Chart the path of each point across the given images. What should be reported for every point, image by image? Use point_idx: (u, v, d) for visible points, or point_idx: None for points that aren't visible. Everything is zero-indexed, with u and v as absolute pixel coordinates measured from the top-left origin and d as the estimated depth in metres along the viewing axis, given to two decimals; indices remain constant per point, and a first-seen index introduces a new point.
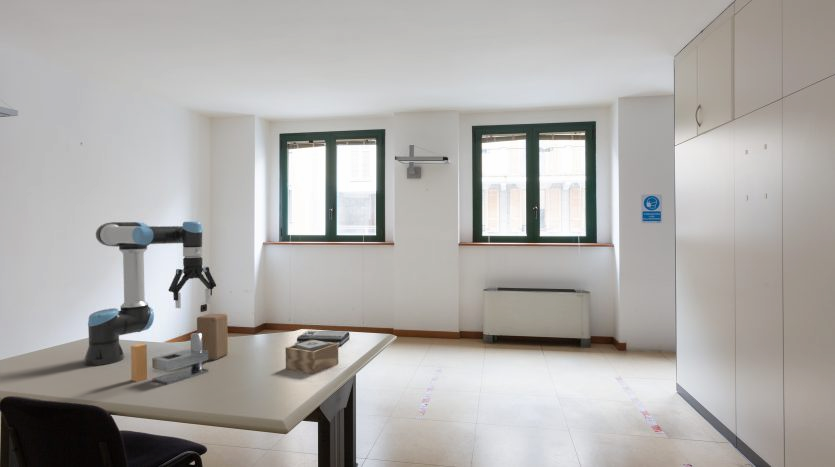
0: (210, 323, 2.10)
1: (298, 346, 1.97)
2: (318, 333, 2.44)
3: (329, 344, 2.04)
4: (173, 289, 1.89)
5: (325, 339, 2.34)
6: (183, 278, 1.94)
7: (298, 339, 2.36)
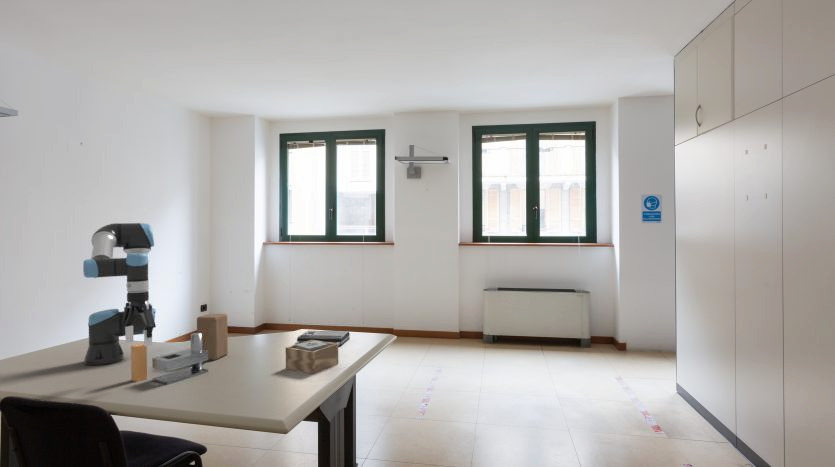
0: (210, 323, 2.10)
1: (298, 346, 1.97)
2: (318, 333, 2.44)
3: (329, 344, 2.04)
4: (122, 322, 1.87)
5: (325, 339, 2.34)
6: None
7: (298, 339, 2.36)
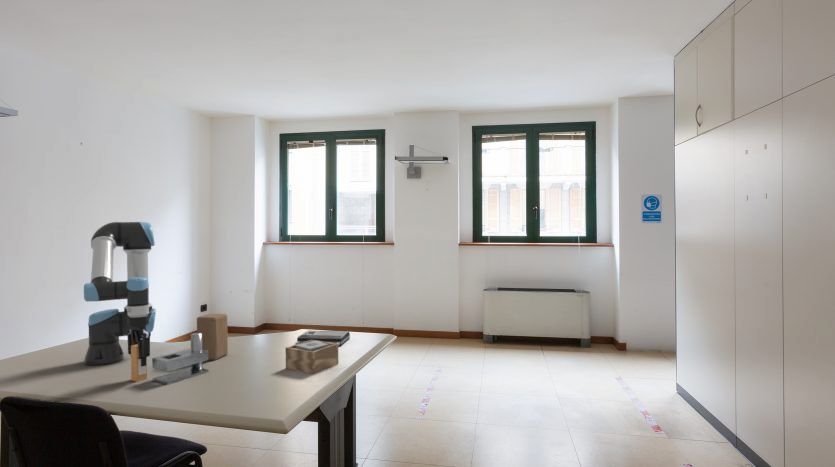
0: (210, 323, 2.10)
1: (298, 347, 1.96)
2: (318, 333, 2.45)
3: (329, 344, 2.04)
4: (128, 351, 1.85)
5: (325, 339, 2.35)
6: None
7: (298, 339, 2.36)
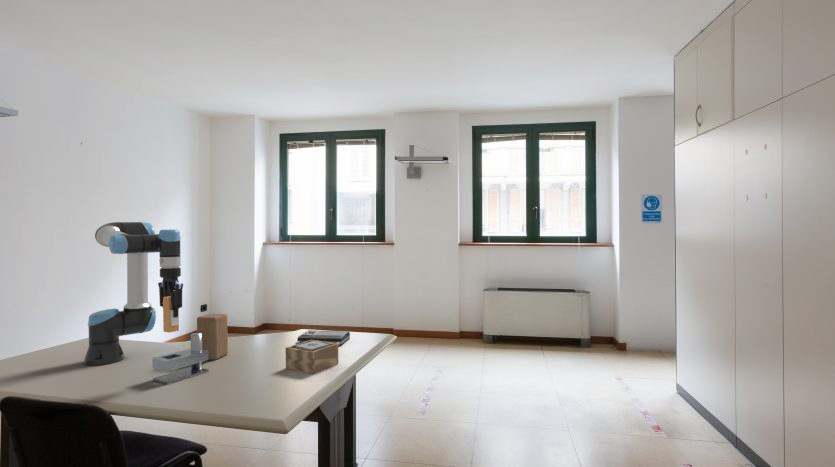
0: (210, 323, 2.10)
1: (298, 347, 1.95)
2: (319, 333, 2.45)
3: (329, 344, 2.04)
4: (160, 303, 1.86)
5: (325, 339, 2.35)
6: None
7: (299, 339, 2.37)
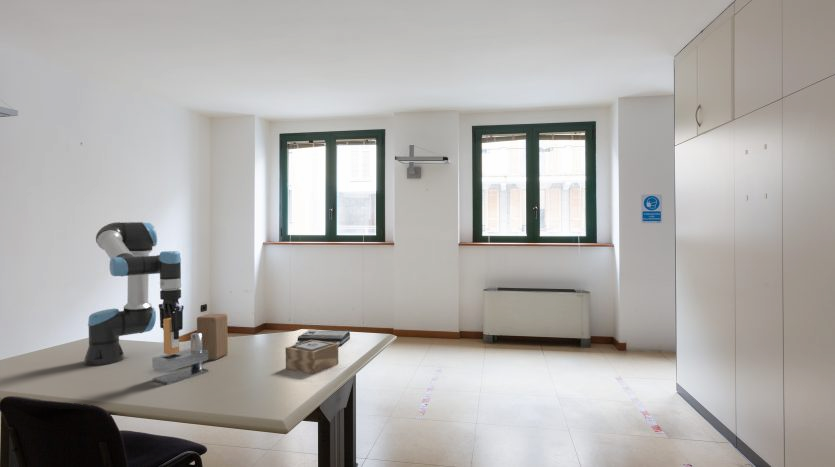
0: (210, 323, 2.10)
1: (298, 348, 1.95)
2: (319, 333, 2.45)
3: (329, 344, 2.04)
4: (160, 325, 1.86)
5: (325, 338, 2.35)
6: None
7: (299, 338, 2.37)
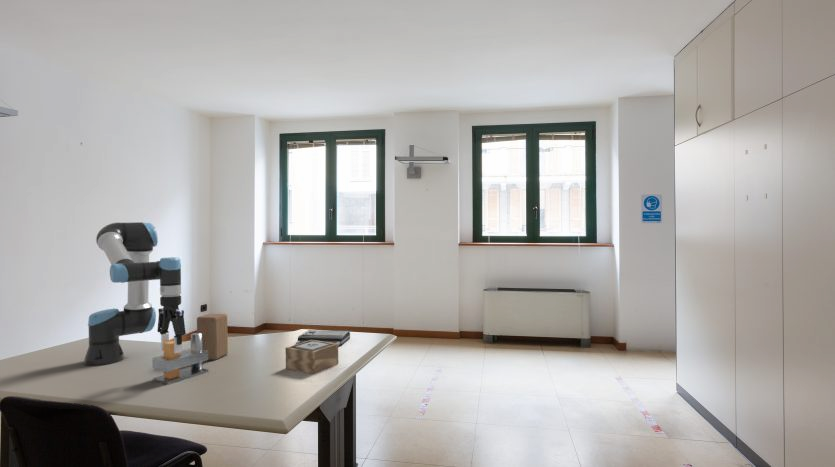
0: (210, 323, 2.10)
1: (299, 348, 1.94)
2: (319, 332, 2.46)
3: (329, 344, 2.04)
4: (158, 329, 1.87)
5: (326, 338, 2.35)
6: None
7: (299, 338, 2.37)
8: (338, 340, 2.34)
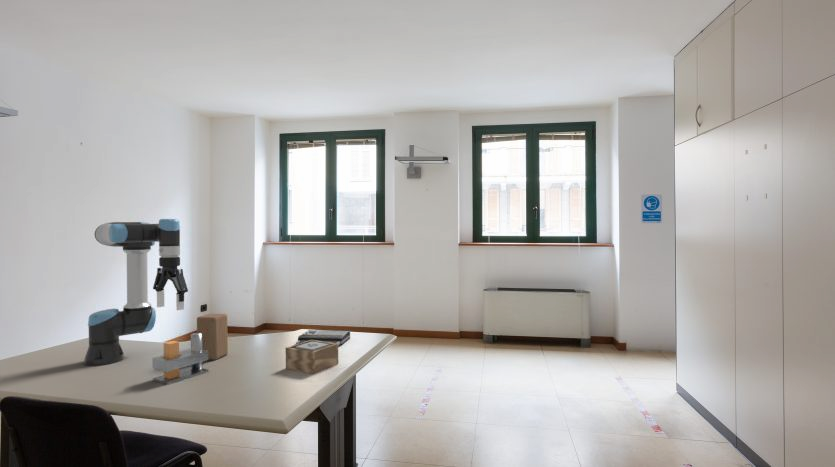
0: (210, 323, 2.10)
1: (299, 348, 1.94)
2: (319, 332, 2.46)
3: (329, 344, 2.04)
4: (154, 287, 1.89)
5: (326, 338, 2.36)
6: None
7: (299, 338, 2.37)
8: (338, 340, 2.34)
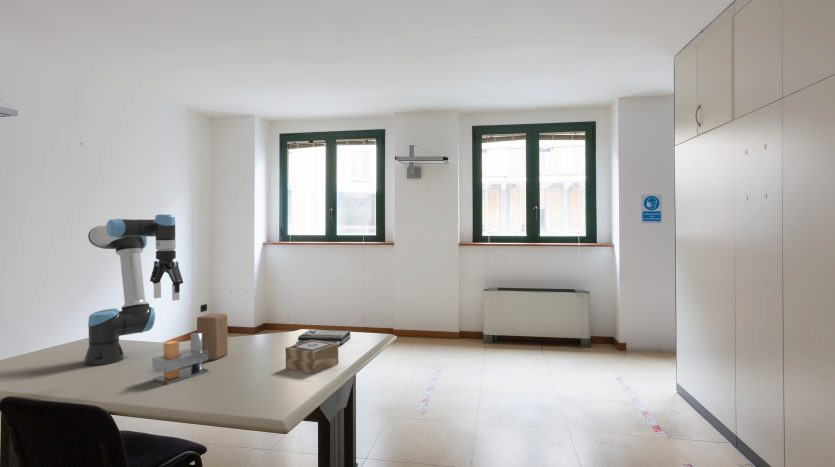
0: (210, 323, 2.10)
1: (299, 348, 1.94)
2: (319, 332, 2.46)
3: (329, 344, 2.04)
4: (151, 279, 1.99)
5: (326, 338, 2.36)
6: None
7: (299, 338, 2.38)
8: (338, 340, 2.35)
